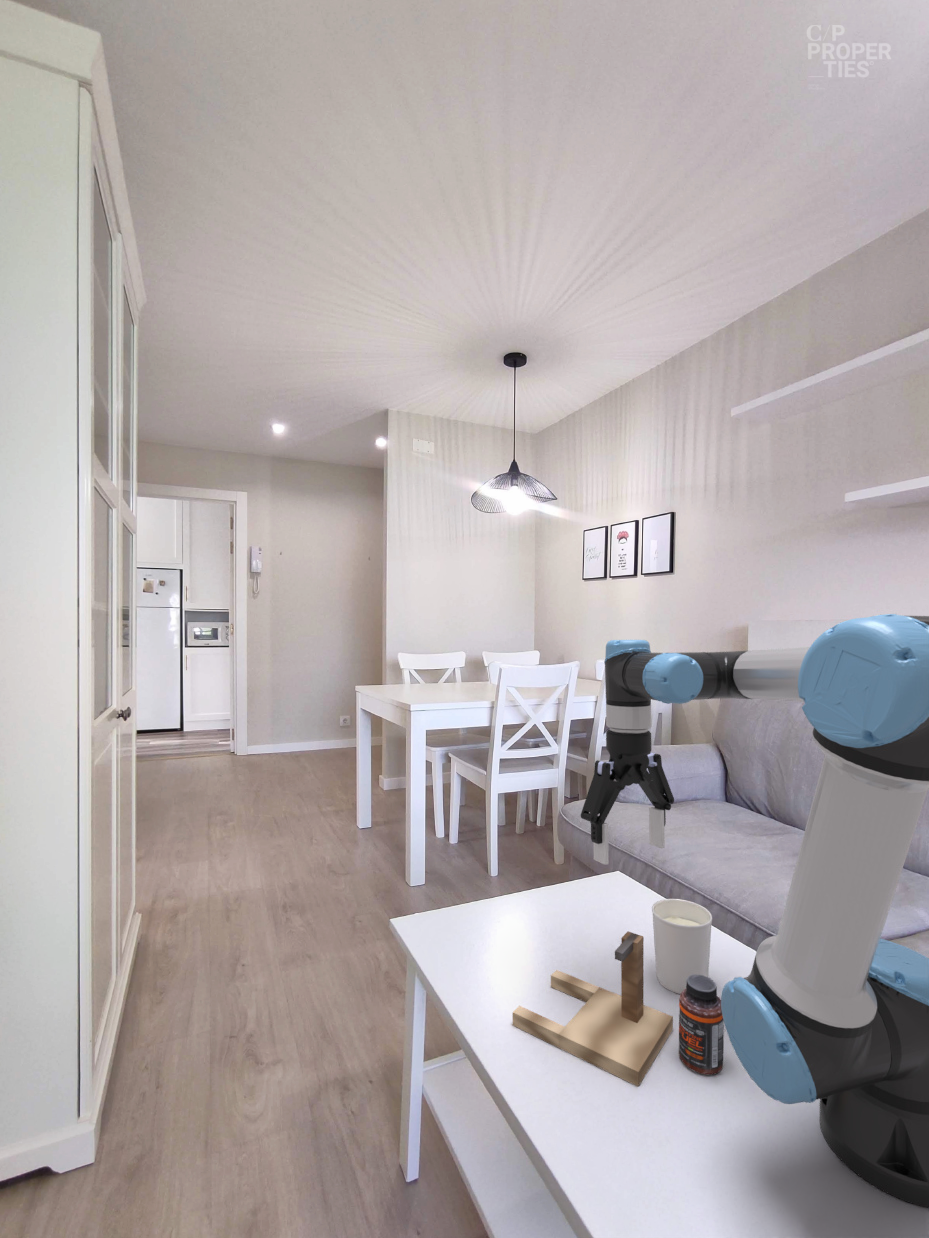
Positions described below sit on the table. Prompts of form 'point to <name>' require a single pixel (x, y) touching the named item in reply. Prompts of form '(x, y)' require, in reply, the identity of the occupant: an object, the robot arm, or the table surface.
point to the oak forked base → (601, 1030)
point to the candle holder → (680, 942)
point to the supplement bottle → (701, 1026)
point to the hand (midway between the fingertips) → (630, 853)
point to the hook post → (631, 976)
